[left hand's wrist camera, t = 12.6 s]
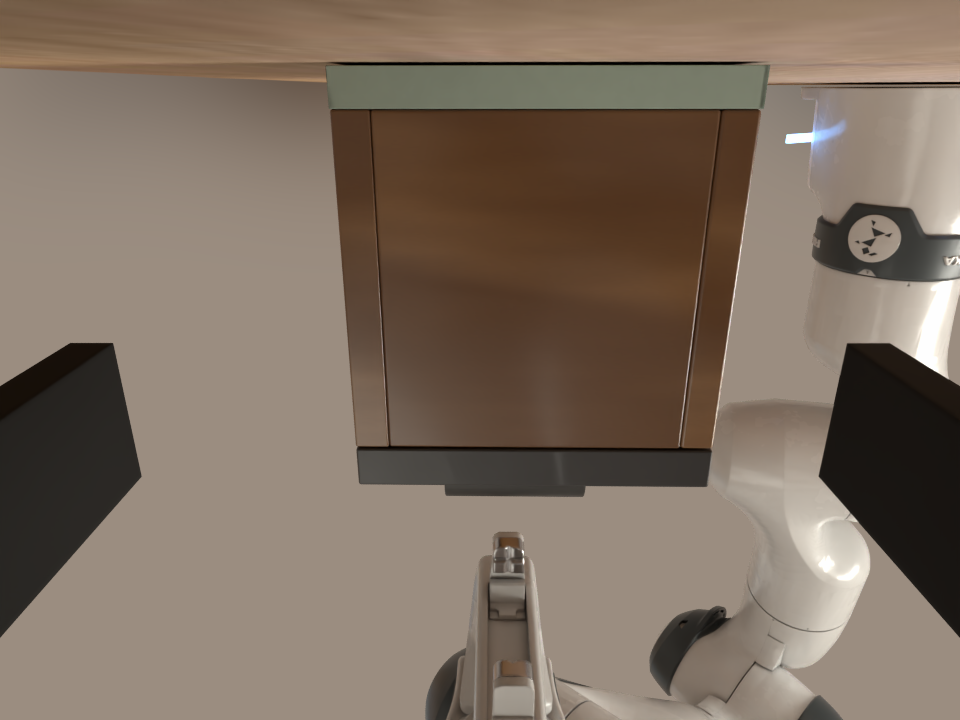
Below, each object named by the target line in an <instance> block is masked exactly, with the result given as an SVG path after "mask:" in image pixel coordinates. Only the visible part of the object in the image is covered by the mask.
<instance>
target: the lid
mask: <svg viewBox="0 0 960 720" xmlns="http://www.w3.org/2000/svg"><path fill="white" fill-rule="evenodd" d="M712 453H713V452H712V450H711V448H682V447H680V446H679V448H573V447H432V446H390V444H389V446H387V447H370V446H358V447H357V463H358V475H359V483H360V484H401V485H402V484H404V485H445V494H446V496H545V497H583V496H584V493H585V486H653V487H707V486H708V481H709V474H710V467H711V460H712Z"/></svg>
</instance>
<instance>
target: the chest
mask: <svg viewBox="0 0 960 720" xmlns="http://www.w3.org/2000/svg"><path fill="white" fill-rule="evenodd" d="M769 70H770V65H326V78H327V91H328V104H329V109H332V110H331V111H330V116H331V130H332V142H333V155H334V168H335V181H336V194H337V207H338V220H339V232H340V245H341V258H342V271H343V284H344V296H345V309H346V322H347V335H348V348H349V361H350V374H351V386H352V399H353V412H354V425H355V438H356V445H357V446H370V447H387V446H389V444H390V446H432V447H573V448H679V446H680V447H682V448H712V447H713V443H714V436H715V429H716V422H717V415H718V408H719V401H720V394H721V387H722V380H723V374H724V367H725V359H726V353H727V346H728V339H729V332H730V325H731V318H732V311H733V304H734V297H735V290H736V283H737V277H738V270H739V263H740V256H741V249H742V242H743V235H744V228H745V221H746V214H747V207H748V200H749V194H750V186H751V180H752V173H753V166H754V159H755V152H756V145H757V138H758V131H759V124H760V117H761V111H760V110H758V109H763V108H764V104H765V97H766V90H767V84H768V77H769Z"/></svg>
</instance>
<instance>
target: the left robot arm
mask: <svg viewBox="0 0 960 720" xmlns="http://www.w3.org/2000/svg"><path fill="white" fill-rule="evenodd" d="M818 477H819V478H820V479H821V480H822V481H823V482H824V483H825V485H826V486H827V487H828V488H829V489H830V490H831V491H832V493H833V494H834V495H835V496H836V497H837V498H838V499H839V501H840V502H841V503H842V504H843V505H844V506H845V507H846V509H847V510H848V511H849V512H850V513H851V514H852V515H853V516H854V518H855V519H856V520H857V521H858V522H859V523H860V524H861V526H862V527H863V528H864V529H865V530H866V531H867V532H868V534H869V535H870V536H871V537H872V538H873V539H874V540H875V541H876V543H877V544H878V545H879V546H880V547H881V548H882V549H883V551H884V552H885V553H886V554H887V555H888V556H889V557H890V559H891V560H892V561H893V562H894V563H895V564H896V565H897V567H898V568H899V569H900V570H901V571H902V572H903V573H904V575H905V576H906V577H907V578H908V579H909V580H910V581H911V582H912V584H913V585H914V586H915V587H916V588H917V589H918V590H919V592H920V593H921V594H922V595H923V596H924V597H925V598H926V600H927V601H928V602H929V603H930V604H931V605H932V606H933V608H934V609H935V610H936V611H937V612H938V613H939V614H940V616H941V617H942V618H943V619H944V620H945V621H946V622H947V624H948V625H949V626H950V627H951V628H952V629H953V630H954V631H955V633H956V634H957V635H958V636H959V637H960V386H959V385H957V384H955V383H954V382H952V381H951V380H949V379H947V378H946V377H944V376H942V375H941V374H939V373H938V372H936V371H934V370H933V369H931V368H929V367H928V366H926V365H925V364H923V363H921V362H920V361H918V360H916V359H915V358H913V357H912V356H910V355H908V354H907V353H905V352H903V351H902V350H900V349H899V348H897V347H895V346H894V345H892V344H890V343H847V345H846V350H845V355H844V359H843V364H842V369H841V373H840V378H839V383H838V387H837V392H836V397H835V402H834V406H833V411H832V415H831V420H830V425H829V429H828V434H827V439H826V443H825V448H824V453H823V458H822V462H821V467H820V472H819V476H818ZM140 478H141V472H140V467H139V462H138V458H137V453H136V448H135V444H134V439H133V434H132V429H131V425H130V420H129V416H128V411H127V406H126V402H125V397H124V392H123V387H122V383H121V378H120V374H119V369H118V364H117V359H116V355H115V350H114V346H113V343H70V344H68V345H66V346H65V347H63V348H61V349H60V350H58V351H57V352H55V353H53V354H52V355H50V356H48V357H47V358H45V359H44V360H42V361H40V362H39V363H37V364H35V365H34V366H32V367H31V368H29V369H27V370H26V371H24V372H23V373H21V374H19V375H18V376H16V377H14V378H13V379H11V380H10V381H8V382H6V383H5V384H3V385H1V386H0V637H1V636H2V635H3V634H4V633H5V631H6V630H7V629H8V628H9V627H10V626H11V625H12V624H13V622H14V621H15V620H16V619H17V618H18V617H19V616H20V614H21V613H22V612H23V611H24V610H25V609H26V608H27V606H28V605H29V604H30V603H31V602H32V601H33V600H34V598H35V597H36V596H37V595H38V594H39V593H40V592H41V590H42V589H43V588H44V587H45V586H46V585H47V584H48V583H49V581H50V580H51V579H52V578H53V577H54V576H55V575H56V573H57V572H58V571H59V570H60V569H61V568H62V567H63V565H64V564H65V563H66V562H67V561H68V560H69V559H70V557H71V556H72V555H73V554H74V553H75V552H76V551H77V549H78V548H79V547H80V546H81V545H82V544H83V543H84V542H85V540H86V539H87V538H88V537H89V536H90V535H91V534H92V532H93V531H94V530H95V529H96V528H97V527H98V526H99V524H100V523H101V522H102V521H103V520H104V519H105V518H106V516H107V515H108V514H109V513H110V512H111V511H112V510H113V509H114V507H115V506H116V505H117V504H118V503H119V502H120V501H121V499H122V498H123V497H124V496H125V495H126V494H127V493H128V491H129V490H130V489H131V488H132V487H133V486H134V485H135V483H136V482H137V481H138V480H139V479H140Z"/></svg>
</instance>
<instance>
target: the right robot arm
mask: <svg viewBox="0 0 960 720" xmlns="http://www.w3.org/2000/svg"><path fill="white" fill-rule="evenodd" d="M801 98H802V99H808V100H816V106H815V115H814V124H813V133H806V134H790V135H787V138H786V143H799V142H811V151H810V161H809V171H808V181H807V183H808V187H809V188H810V189H811V191H812V192H813V193H814V194H815V196H816V197H817V199H818V200H819V203H820V206H821V209H822V213H823V215H822V216H820V217H819V218H818V219H817V225H816V230H815V233H814V235H813V241H812V242H813V250H812V257H813V258H814V259H815V260H816V263H815V268H814V274H813V279H812V284H811V290H810V295H809V300H808V306H807V311H806V316H805V322H804V327H803V332H804V338H805V342H806V344H807V347H808V349H809V350H810V352H811V353H812V354H813V356H814V357H815V358H816V359H817V360H818V361H819V362H821V363H822V364H823V365H824V366H826V367H827V368H829V369H830V370H832V371H833V372H835V373H837V374H838V375H840V373H841V369H842V364H843V359H844V355H845V350H846V345H847V343H890V344H892V345H894V346H895V347H897V348H899V349H900V350H902V351H903V352H905V353H907V354H908V355H910V356H912V357H913V358H915V359H916V360H918V361H920V362H921V363H923V364H925V365H926V366H928V367H929V368H931V369H933V370H934V371H936V372H938V373H939V374H941V375H942V376H944V377H946V378H947V379H949V377H948V371H947V354H948V347H949V341H950V335H951V330H952V325H953V320H954V315H955V310H956V306H957V302H958V298H959V294H960V86H927V87H926V86H925V87H802V90H801ZM833 406H834V404H829V403H818V402H807V401H796V400H785V399H764V400H751V401H742V402H733V403H728V404H726V405H725V406H723V407H722V408H721V409H720V410H719V411H718V415H717V422H716V429H715V436H714V443H713V447H712V448H711V450H712V452H713V453H712V460H711V467H710V474H709V482H710V483H711V485H712V486H713V488H714V489H715V490H716V492H717V493H718V494H719V495H720V496H721V497H723V498H724V499H726V500H728V501H729V502H731V503H732V504H734V505H735V506H736V507H738V508H739V509H740V510H741V511H742V512H743V513H744V514H745V515H746V516H747V518H748V519H749V520H750V522H751V523H752V525H753V527H754V532H755V537H754V545H753V551H752V556H751V560H750V564H749V568H748V572H747V576H746V580H745V586H744V593H743V598H742V601H741V604H740V607H739V609H738V611H737V612H736V614H735V615H734V616H733V617H732V618H725V617H726V609H725V608H724V607H721V606H715V607H713V608H712V609H710V610H702V609H697V610H692V611H688V612H685V613H682V614H679V615H678V616H676V617H675V618H674V619H673V620H672V621H671V622H669V623H668V624H667V625H666V626H665V627H664V628H663V629H662V630H661V632H660V633H659V635H658V637H657V639H656V641H655V643H654V647H653V649H652V652H651V655H650V672H651V674H652V676H653V677H654V679H655V680H656V681H657V683H658V684H659V685H660V687H661V688H662V689H663V690H664V691H665V692H666V694H667V695H669V696H673V697H674V698H675V699H676V700H677V701H670V700H662V699H655V698H648V697H641V696H634V695H629V694H624V693H619V692H615V691H610V690H605V689H598V688H592V687H589V686H585V685H581V684H577V683H574V682H571V681H567V680H564V679H561V678H557V677H555V676H554V673H553V671H552V663H551V660H550V659H549V658H548V657H545V654H544V647H543V640H542V633H541V624H540V614H539V604H538V594H537V584H536V576H535V570H534V565H533V562H532V560H531V559H530V558H529V557H527V556H524V538H523V536H522V534H520V533H518V532H498V533H496V534H494V536H493V547H492V555H488V556H484V557H482V558H481V559H480V561H479V563H478V566H477V571H476V576H475V582H474V590H473V598H472V606H471V614H470V623H469V631H468V639H467V647H466V648H465V649H463V650H461V651H459V652H457V653H456V654H454V655H453V656H452V657H451V658H449V659H448V660H447V661H446V662H445V664H444V665H443V666H442V667H441V668H440V670H439V671H438V673H437V674H436V676H435V678H434V680H433V682H432V684H431V686H430V689H429V692H428V695H427V700H426V717H425V718H426V720H843V719H842V718H841V717H840V715H839V714H838V713H837V712H836V711H835V710H834V708H833V707H832V706H831V705H830V704H829V703H828V702H827V701H826V700H824V699H823V698H822V697H821V696H820V695H819V696H816V695H815V694H813V693H812V692H811V691H810V690H809V689H808V688H807V687H806V686H805V685H804V684H802V683H801V682H800V681H799V680H798V679H797V678H796V677H794V676H793V675H792V674H791V673H790V672H788V671H787V670H786V669H785V668H784V667H786V668H803V667H807V666H810V665H812V664H814V663H815V662H817V661H818V660H819V659H820V658H821V657H822V656H823V655H824V654H825V653H826V652H827V651H828V650H829V649H830V648H831V647H832V645H833V644H834V643H835V642H836V640H837V639H838V637H839V636H840V634H841V633H842V631H843V629H844V627H845V626H846V624H847V622H848V620H849V618H850V616H851V614H852V611H853V609H854V607H855V604H856V602H857V600H858V597H859V595H860V593H861V591H862V588H863V586H864V584H865V581H866V579H867V577H868V574H869V571H870V555H869V550H868V547H867V545H866V542H865V540H864V539H863V537H862V536H861V534H860V533H859V532H858V530H857V529H856V528H855V527H854V526H853V525H852V523H851V522H850V521H854V522H858V521H857V520H856V519H855V518H854V516H853V515H852V514H851V513H850V512H849V511H848V510H847V509H846V507H845V506H844V505H843V504H842V503H841V502H840V501H839V499H838V498H837V497H836V496H835V495H834V494H833V493H832V491H831V490H830V489H829V488H828V487H827V486H826V485H825V483H824V482H823V481H822V480H821V479H820V478H819V477H818V476H819V472H820V467H821V462H822V458H823V453H824V448H825V443H826V439H827V434H828V429H829V425H830V420H831V415H832V411H833Z"/></svg>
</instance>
